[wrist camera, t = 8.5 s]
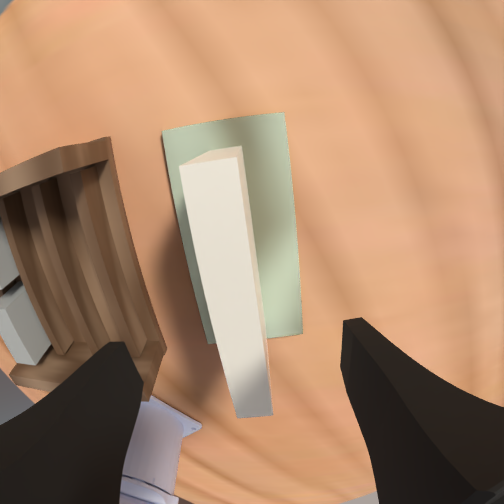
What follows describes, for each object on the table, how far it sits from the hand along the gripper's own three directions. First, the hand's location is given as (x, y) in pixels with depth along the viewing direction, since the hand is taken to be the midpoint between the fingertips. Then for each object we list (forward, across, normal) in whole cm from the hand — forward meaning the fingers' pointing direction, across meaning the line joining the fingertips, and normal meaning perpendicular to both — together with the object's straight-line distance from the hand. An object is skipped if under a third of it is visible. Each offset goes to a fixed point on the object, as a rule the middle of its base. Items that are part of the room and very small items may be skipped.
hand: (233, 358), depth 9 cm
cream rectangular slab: (+10, 0, 0) cm, 10 cm away
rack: (+10, +8, 0) cm, 13 cm away
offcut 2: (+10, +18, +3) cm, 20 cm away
